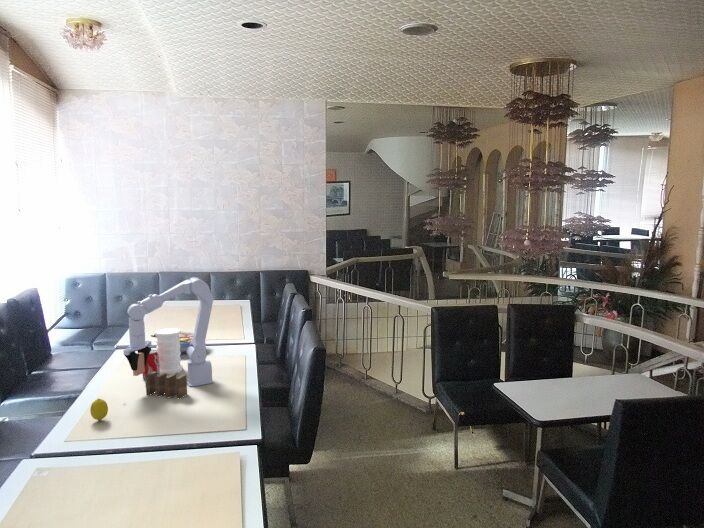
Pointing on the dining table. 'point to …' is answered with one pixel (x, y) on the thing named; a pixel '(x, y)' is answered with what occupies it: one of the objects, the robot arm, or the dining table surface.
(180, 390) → the domino
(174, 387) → the domino
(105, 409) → the lemon
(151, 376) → the domino
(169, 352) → the decorative container
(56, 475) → the dining table surface
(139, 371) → the salmon pink rectangular block
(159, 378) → the domino
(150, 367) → the soda can
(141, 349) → the robot arm
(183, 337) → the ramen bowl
